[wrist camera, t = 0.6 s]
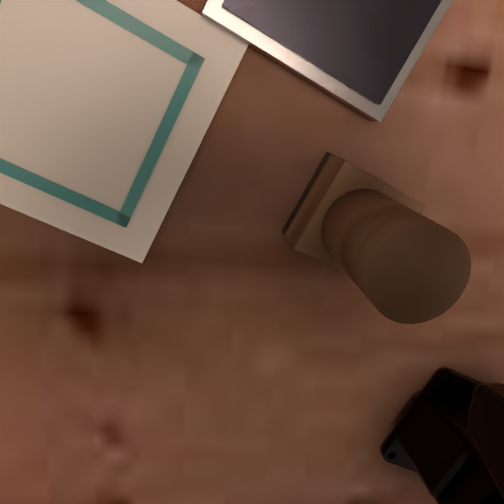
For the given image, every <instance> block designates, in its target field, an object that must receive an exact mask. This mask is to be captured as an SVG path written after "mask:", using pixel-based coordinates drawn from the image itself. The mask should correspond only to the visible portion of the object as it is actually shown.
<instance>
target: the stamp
mask: <svg viewBox="0 0 504 504" xmlns="http://www.w3.org/2000/svg"><path fill="white" fill-rule="evenodd" d="M424 207H425V205H423V204H421V203H420V202H418V201H416V200H414V199H413V198H411V197H409V196H407V195H406V194H404V193H402V192H400V191H399V190H397V189H395V188H393V187H392V186H390V185H388V184H386V183H384V182H383V181H381V180H379V179H377V178H376V177H374V176H372V175H370V174H369V173H367V172H365V171H363V170H362V169H360V168H358V167H356V166H355V165H353V164H351V163H349V162H348V161H346V160H344V159H342V158H339V157H337V156H335V155H333V154H331V153H329V152H327V153H326V155H325V156H324V158H323V160H322V162H321V163H320V165H319V167H318V169H317V170H316V172H315V174H314V176H313V177H312V179H311V181H310V183H309V184H308V186H307V188H306V190H305V191H304V193H303V195H302V197H301V198H300V200H299V202H298V204H297V205H296V207H295V209H294V211H293V212H292V214H291V216H290V218H289V219H288V221H287V223H286V225H285V227H284V228H283V230H282V232H283V233H284V235H285V236H286V238H287V240H288V241H289V243H290V244H291V246H292V247H293V249H295V250H297V251H299V252H301V253H303V254H305V255H307V256H309V257H311V258H313V259H315V260H318V261H320V262H322V263H324V264H326V265H328V266H330V267H332V268H334V269H336V270H338V271H340V272H343V273H345V274H347V275H349V277H350V278H351V279H352V280H353V281H354V282H355V284H356V285H357V286H358V287H359V288H360V289H361V291H362V292H363V293H364V294H365V295H366V296H367V298H368V299H369V300H370V301H371V302H372V303H373V305H374V306H375V307H376V308H377V309H378V310H379V311H380V313H381V314H383V315H384V316H385V317H387V318H389V319H390V320H393V321H395V322H399V323H405V324H415V323H421V322H425V321H428V320H431V319H433V318H435V317H437V316H439V315H441V314H442V313H444V312H445V311H447V310H448V309H449V308H450V307H451V306H452V305H453V304H454V303H455V302H456V301H457V300H458V298H459V297H460V296H461V294H462V293H463V291H464V289H465V287H466V285H467V282H468V279H469V275H470V269H471V261H470V255H469V252H468V249H467V247H466V245H465V243H464V242H463V241H462V239H461V238H460V237H459V236H458V235H456V234H455V233H453V232H452V231H450V230H448V229H447V228H445V227H443V226H441V225H439V224H437V223H436V222H434V221H432V220H430V219H428V218H426V217H425V216H423V215H421V214H420V213H421V211H422V210H423V208H424Z"/></svg>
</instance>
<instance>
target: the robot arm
mask: <svg viewBox="0 0 504 504" xmlns="http://www.w3.org/2000/svg"><path fill="white" fill-rule="evenodd" d="M447 377H448V378H447ZM446 378H447V379H446ZM445 379H446V380H445ZM381 454H382V456H383V458H384V459H385V461H387V462H390V463H392V464H395V465H398V466H401V467H404V468H407V469H410V470H413V471H416V472H418V474H419V476H420V477H421V479H422V481H423V482H424V484H425V486H426V487H427V489H428V491H429V492H430V494H431V495H432V496H433V497H434V498H435V500H436V501H437V503H438V504H504V385H503V384H500V383H490V384H482V383H480V382H477V381H475V380H473V379H471V378H468V377H466V376H464V375H462V374H459V373H457V372H455V371H452V370H450V369H443V370H441V371H439V372H438V373H437V375H436V376H435V377H434V379H433V380H432V382H431V383H430V384H429V386H428V387H427V388H426V390H425V391H424V392H423V394H422V395H421V396H420V398H419V399H418V400H417V402H416V403H415V404H414V406H413V407H412V408H411V410H410V411H409V412H408V414H407V415H406V416H405V418H404V419H403V420H402V422H401V423H400V424H399V426H398V427H397V429H396V430H395V431H394V433H393V434H392V435H391V437H390V438H389V439H388V441H387V442H386V443H385V445H384V446H383V447H382V449H381Z"/></svg>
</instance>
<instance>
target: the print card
mask: <svg viewBox="0 0 504 504" xmlns="http://www.w3.org/2000/svg"><path fill="white" fill-rule="evenodd" d="M247 47H248V44H247V43H245V42H243V41H242V40H240V39H239V38H237V37H235V36H234V35H232V34H230V33H229V32H227V31H226V30H224V29H222V28H221V27H219V26H217V25H216V24H214V23H213V22H211V21H209V20H208V19H206V18H204V17H203V16H201V15H199V14H198V13H196V12H195V11H193V10H191V9H190V8H188V7H186V6H185V5H183V4H182V3H180V2H178V1H177V0H0V204H2V205H4V206H7V207H9V208H11V209H14V210H16V211H19V212H21V213H23V214H26V215H28V216H30V217H33V218H35V219H38V220H40V221H42V222H45V223H47V224H49V225H52V226H54V227H57V228H59V229H61V230H64V231H66V232H69V233H71V234H73V235H76V236H78V237H80V238H83V239H85V240H88V241H90V242H92V243H95V244H97V245H100V246H102V247H104V248H107V249H109V250H111V251H114V252H116V253H119V254H121V255H123V256H126V257H128V258H130V259H133V260H135V261H138V262H140V263H143V261H144V258H145V256H146V254H147V252H148V250H149V248H150V246H151V244H152V242H153V240H154V238H155V236H156V234H157V232H158V230H159V228H160V226H161V224H162V222H163V219H164V217H165V215H166V213H167V211H168V209H169V207H170V205H171V203H172V201H173V199H174V197H175V195H176V193H177V191H178V189H179V187H180V185H181V183H182V181H183V178H184V176H185V174H186V172H187V170H188V168H189V166H190V164H191V162H192V160H193V158H194V156H195V154H196V152H197V150H198V148H199V146H200V144H201V142H202V139H203V137H204V135H205V133H206V131H207V129H208V127H209V125H210V123H211V121H212V119H213V117H214V115H215V113H216V111H217V109H218V107H219V105H220V103H221V100H222V98H223V96H224V94H225V92H226V90H227V88H228V86H229V84H230V82H231V80H232V78H233V76H234V74H235V72H236V70H237V68H238V66H239V64H240V61H241V59H242V57H243V55H244V53H245V51H246V49H247Z"/></svg>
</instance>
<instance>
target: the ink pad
mask: <svg viewBox="0 0 504 504" xmlns="http://www.w3.org/2000/svg"><path fill="white" fill-rule="evenodd" d="M452 1H453V0H208V1H207V3H206V5H205V8H204V10H203V12H202V16H203V17H204V18H206V19H208V20H209V21H211V22H213V23H214V24H216V25H217V26H219V27H221V28H222V29H224V30H226V31H227V32H229V33H230V34H232V35H234V36H235V37H237V38H239V39H240V40H242V41H243V42H245V43H247V44H248V45H249V46H250V47H252V48H253V49H255V50H257V51H258V52H260V53H262V54H263V55H265V56H267V57H268V58H270V59H271V60H273V61H275V62H276V63H278V64H280V65H281V66H283V67H284V68H286V69H288V70H289V71H291V72H293V73H294V74H296V75H297V76H299V77H301V78H302V79H304V80H306V81H307V82H309V83H311V84H312V85H314V86H315V87H317V88H319V89H320V90H322V91H324V92H325V93H327V94H328V95H330V96H332V97H333V98H335V99H337V100H338V101H340V102H342V103H343V104H345V105H346V106H348V107H350V108H351V109H353V110H355V111H356V112H358V113H359V114H361V115H363V116H364V117H366V118H368V119H369V120H371V121H376V122H381V121H382V119H383V117H384V116H385V114H386V112H387V110H388V109H389V107H390V105H391V104H392V102H393V100H394V99H395V97H396V95H397V94H398V92H399V90H400V89H401V87H402V85H403V83H404V82H405V80H406V78H407V77H408V75H409V73H410V72H411V70H412V68H413V67H414V65H415V63H416V62H417V60H418V58H419V56H420V55H421V53H422V51H423V50H424V48H425V46H426V45H427V43H428V41H429V40H430V38H431V36H432V35H433V33H434V31H435V29H436V28H437V26H438V24H439V23H440V21H441V19H442V18H443V16H444V14H445V13H446V11H447V9H448V8H449V6H450V4H451V3H452Z"/></svg>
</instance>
